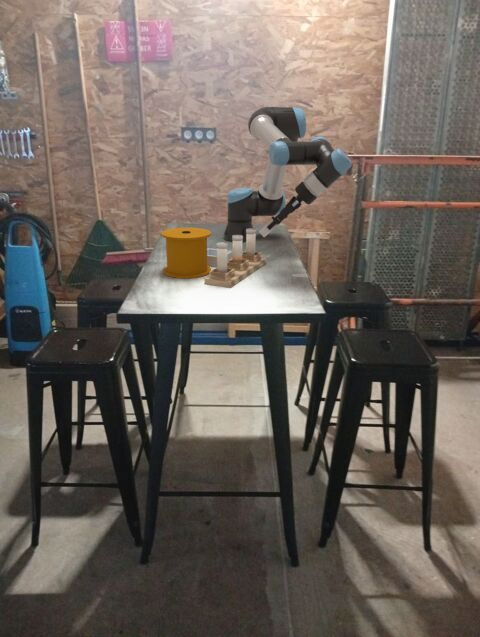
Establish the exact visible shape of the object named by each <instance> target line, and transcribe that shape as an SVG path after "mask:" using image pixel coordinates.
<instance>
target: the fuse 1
mask: <svg viewBox="0 0 480 637" xmlns="http://www.w3.org/2000/svg"><path fill="white" fill-rule="evenodd" d="M228 246H229V243H228V242H225V241H221V242H220V241H219V242H216V249H217V267H216V268H217V272H219V273H227V250H228V248H229V247H228Z"/></svg>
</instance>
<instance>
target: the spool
mask: <svg viewBox="0 0 480 637" xmlns="http://www.w3.org/2000/svg"><path fill="white" fill-rule="evenodd" d="M211 235H212V232H211V231H210V230H208V229H206V228H200V227H174V228H169V229H164V230H163V231H161V236H162V237H163V238H164V239H165V247H166V248H165V251H166V266H165V267H164V268H163V269H162V270H163V274H164V275H165V276H166V277H170V278H174V277H175V278H176V279H198V278H203V277H205V276H206V277H207V276H209V272H210V271H211V270H212V267H211V266H207V249H208V238H209V237H211ZM175 278H174V279H175Z"/></svg>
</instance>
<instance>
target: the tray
mask: <svg viewBox="0 0 480 637" xmlns="http://www.w3.org/2000/svg"><path fill="white" fill-rule="evenodd" d="M232 254H233V250H228V249H227V261H229V260H231V259H232ZM207 266H209V267H213V268H214V267H215V268H217V248H210V247H209V248H208V247H207Z"/></svg>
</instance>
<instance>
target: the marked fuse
mask: <svg viewBox="0 0 480 637" xmlns="http://www.w3.org/2000/svg"><path fill="white" fill-rule="evenodd" d="M232 240H233V242H232V251H233V254H232V263H237V264H242V253H243V242H242V240H243V236H242V235H233V236H232Z"/></svg>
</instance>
